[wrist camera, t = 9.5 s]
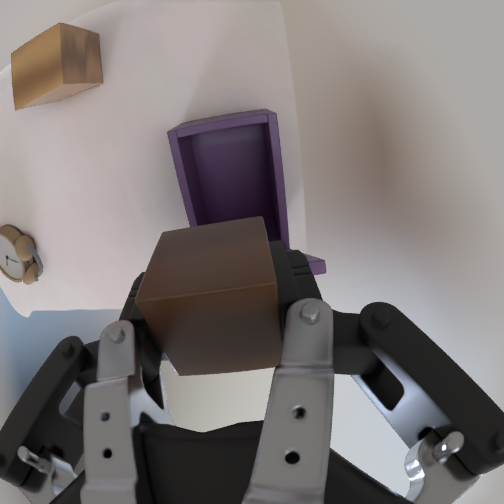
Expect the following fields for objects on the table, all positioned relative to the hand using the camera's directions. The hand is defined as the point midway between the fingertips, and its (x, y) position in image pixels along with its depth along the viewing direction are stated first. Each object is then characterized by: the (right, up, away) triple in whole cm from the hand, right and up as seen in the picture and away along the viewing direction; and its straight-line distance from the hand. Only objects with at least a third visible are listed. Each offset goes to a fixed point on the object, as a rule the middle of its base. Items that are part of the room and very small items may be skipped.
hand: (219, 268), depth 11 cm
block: (0, 0, 0) cm, 0 cm away
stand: (-23, +26, +13) cm, 37 cm away
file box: (-1, +11, +24) cm, 27 cm away
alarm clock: (-44, +1, +28) cm, 52 cm away
